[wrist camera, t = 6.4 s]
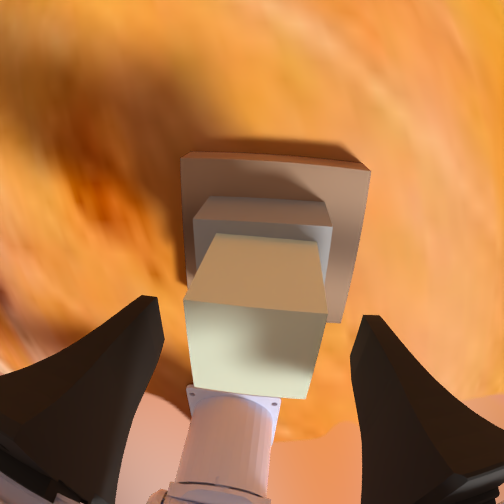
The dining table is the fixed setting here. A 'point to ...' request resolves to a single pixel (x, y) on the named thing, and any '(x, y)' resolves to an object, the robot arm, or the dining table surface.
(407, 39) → the dining table surface
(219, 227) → the slate cube
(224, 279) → the sage block
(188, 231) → the walnut slab
